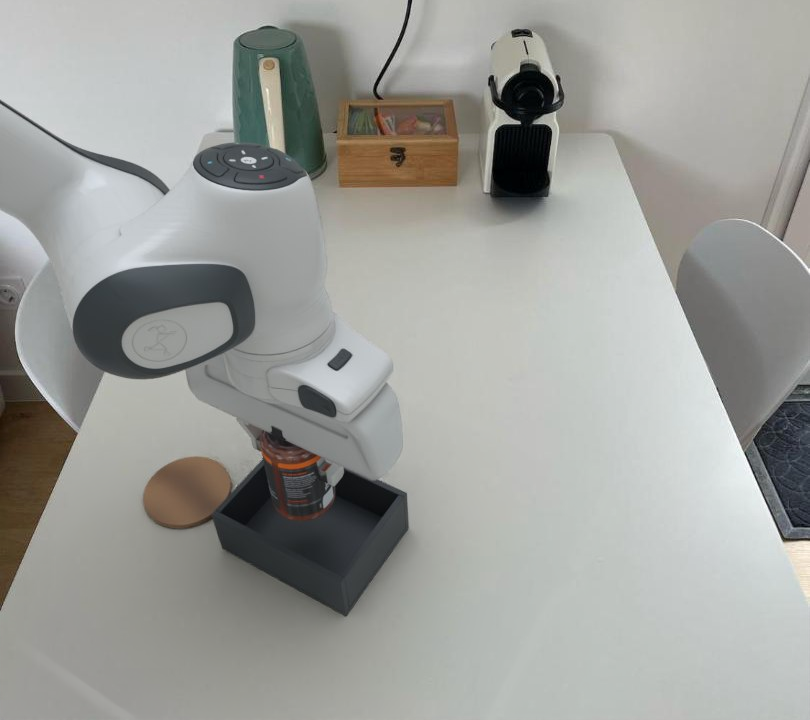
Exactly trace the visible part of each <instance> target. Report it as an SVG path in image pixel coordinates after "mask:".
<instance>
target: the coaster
mask: <svg viewBox="0 0 810 720" xmlns="http://www.w3.org/2000/svg"><path fill="white" fill-rule="evenodd" d="M232 488H233V487H232V479H231V476H230V473H229V471H228V470H227V468H226V467H225V466H224V465H223V464H222V463H221V462H219V461H217V460H215V459H213V458H210V457H205V456H186V457H182V458H179V459H176V460H173V461H171V462H169V463H168V464H165V465H164V466H162V467H161V468H159V469H158V470H157V471H156V472H155V473H154V474H153V475H152V476H151V477H150V479H149V480H148V482H147V483H146V486H145V488H144V491H143V495H142V496H143V497H142V501H143V506H144V509H145V511H146V513H147V515H148V516H149V517H150V519H151V520H152V521H153V522H156V523H157V524H158V525H160V526H163V527H166V528H171V529H187V528H193V527H196V526H199V525H201V524H204V523H206V522H207V521H209V520H211V519H212V516H211V514H212V513H213V512H214V511H215V510H216V509H217V508H218V507H219V506H220V504H221V503H222V502H223V501H224V500H225V499H226V498H227V497H228V496H229V495H230V494H231V493H232Z"/></svg>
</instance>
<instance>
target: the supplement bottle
mask: <svg viewBox="0 0 810 720" xmlns="http://www.w3.org/2000/svg"><path fill="white" fill-rule="evenodd" d="M271 428H272V432H270V433H268V432H266V431H264V430H262V432H261V436H260V446H261V451H262V452H261V451H260V452H261V455H262V459H263V461H264V466H265V471H266V475H267V480H268V484H269V489H270V494H271V498H272V502H273V505H274V507H275V509H276V510H277V511H278V512H279V513H280V514H281V515H282V516H284V517H286V518H288V519H291V520H296V521H306V520H311V519H314V518H317V517H319V516H321V515H322V514H324V513H325V512H326V511H327V510H328V509H329V508H330V507H331V505H332V503H333V502H334V499H335V486H331V485H329V484H327V483H325V482H323V481H321V480H319V474H318V470H317V469H318V467H319V466H320V465H321V464H322V463H325V459H324V458H322V457H320V456H318V455H316V454H314V453H312V452H309V451H307V450H305V449H303V448H301V447H299V446H296V445H294V444H292V443H290V442H288V441H286V439H285V438H284V437H283V434H282V430H280V429H279V428H277V427H274V426H271Z"/></svg>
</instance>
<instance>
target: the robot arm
mask: <svg viewBox="0 0 810 720" xmlns="http://www.w3.org/2000/svg"><path fill="white" fill-rule="evenodd" d="M0 211H1V212H3V213H5V214H7V215H9V216H11V217H12V218H14V219H16V220H18V221H19V222H20V223H22V224H23V225H24V226H25V227H26V228H27V229H28V230H29V231H30V232H31V234H32V235H33V236H34V238H35V239H36V240H37V241H38V243H39V245H40V246H41V248H42V249H43V251H44V253H45V254H46V256H47V258H48V259H49V261H50V264H51V267H52V269H53V271H54V275H55V278H56V282H57V286H58V288H59V292H60V297H61V301H62V303H63V308H64V310H65V315H66V317H67V320H68V324H69V326H70V329H71V332H72V335H73V339H74V342H75V345H76V347H77V349H78V351H79V352H80V353H81V355H82V356H83V357H84V358H85V359H86V361H88V362H89V363H90V364H91V365H93V367H95V368H97V369H99V370H100V371H103V372H104V373H107V374H109V375H113V376H115V377H119V378H124V379H129V380H154V379H161V378H164V377H169V376H172V375H175V374H177V373H180V372H183V371H185V377H186V382H187V386H188V388H189V390H190V392H191V393H192V394H193V396H194V397H195V398H196V399H197V400H198V401H200V402H202V403H203V404H207V405H209V406H210V407H212V408H215V409H217V410H219V411H221V412H223V413H226V414H227V415H230V416H232V417H234V418H236V421H237V423H238V424H239V425H240V427H241V428H242V429H243V430H244V431H245V433H246V434H247V436H248V437H250V441H251V444H252V448H253V449H254V450H257V451H258V452H261V453H262V451H261V446H260V436H261V432H262V430H264V431H266V432H268V433H270V432H272V428H271V426H274V427H277V428H279V429H280V430H282V434H283V437H284V438H285V439H286V441H288V442H290V443H292V444H294V445H296V446H299V447H301V448H303V449H305V450H307V451H309V452H312V453H314V454H316V455H318V456H320V457H322V458H324V459H325V463H322V464H321V465H320V466H319V467H318V469H317V470H318V474H319V480H321V481H323V482H325V483H327V484H329V485H331V486H335V485H336V484H337V483H338V482H339V480H340V479H341V478H342V476H343V474H344V468H346V469H348V470H350V471H352V472H355V473H357V474H359V475H361V476H363V477H365V478H367V479H369V480H372V481H375V480H380V479H382V478H383V477H385V476H386V475H388V473H389V472H390V471H391V469H393V468H394V466H395V464H396V463H397V462H398V460H399V459H400V457H401V455H402V453H403V450H404V430H403V420H402V419H403V418H402V413H401V407H400V402H399V400H398V396H397V395H396V393H395V391H394V388H392V386H391V385H390V384H389V383H388V381H389V379H390V378H391V376H392V374H393V373H394V361H393V358H392V357H391V356H390V354H388V352H386V351H385V350H383V349H382V348H380V347H379V346H377V345H376V344H374V343H373V342H371V341H370V340H369V339H368V338H366V337H364V336H363V335H361V333H359V332H358V331H357V330H355V329H354V328H353V327H352V326H350V325H349V324H348V323H347V322H346V320H344V319H343V318H342V317H341V316H340V315H338V313H336V312H334V308H333V302H332V299H331V296H330V294H329V292H328V291H327V288H326V278H327V274H328V270H329V269H328V268H329V262H328V261H329V259H328V252H327V251H328V250H327V243H326V236H325V230H324V224H323V219H322V214H321V209H320V204H319V200H318V197H317V193H316V189H315V187H314V184H313V182H312V179H311V177H310V175H309V173H308V172H307V170H305V169H304V168H303V166H302V165H300V163H298V161H297V160H295V159H294V158H292V156H290V155H288V154H287V153H285V152H284V151H282V150H279V149H278V148H273V147H270V146H267V145H263V144H261V143H255V142H245V141H244V142H241V141H240V142H239V141H238V142H225V143H219V144H217V145H213V146H210V147H207V148H204V149H203V150H200V151H199V152H198V153H196V155H195V156H194V157H193V158H192V159H191V162H190V164H189V166H188V168H187V169H186V171H185V173H184V174H183V175H182V177H180V179H179V180H178V181H177V182H176V183H175V184H174V185H173V186H172V187H171V189H170V188H169V187H168V186H167V184H166V183H165V182H164V181H163V180H162V179H161V178H160V177H159V176H157V175H156V174H155V173H153V172H152V171H150V170H149V169H147V168H145V167H143V166H141V165H139V164H136V163H134V162H131V161H128V160H125V159H121V158H117V157H114V156H109V155H106V154H101V153H97V152H93V151H90V150H87V149H85V148H81V147H78V146H77V145H74V144H72V143H70V142H68V141H66V140H64V139H63V138H61V137H59V136H57V135H55V133H52V132H51V131H49V130H48V129H47V128H45V127H43V126H42V125H41V124H39V123H37V122H36V121H34V120H33V119H31V118H29V116H27V115H25V114H23V113H22V112H20V111H19V110H17V109H15V108H14V107H12V106H11V105H10V104H8V103H6V102H5V101H4V100H2V99H0ZM343 467H344V468H343Z"/></svg>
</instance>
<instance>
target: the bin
mask: <svg viewBox="0 0 810 720" xmlns="http://www.w3.org/2000/svg"><path fill="white" fill-rule="evenodd" d="M343 468H344V467H343ZM408 506H409V505H408V492H406V491H404V490H402V489H400V488H397V487H395V486H392V485H391V484H388V483H386V482H384V481H382V480H380V479H378V480H375V481H372V480H369V479H367V478H365V477H363V476H361V475H359V474H357V473H355V472H352V471H350V470H348V469H346V468H344V474H343V476H342V478H341V479H340V480H339V482H338V483H337V484H336V485H335V499H334V502H333V503H332V505H331V507H330V508H329V509H328V510H327V511H326V512H325V513H324V514H322V515H321V516H319V517H317V518H314V519H311V520H306V521H296V520H291V519H288V518H286V517H284V516H282V515H281V514H280V513H279V512H278V511H277V510H276V509H275V507H274V505H273V502H272V498H271V494H270V489H269V484H268V480H267V475H266V471H265V466H264V461H263V458H262V459H261V460H260V461H259V463H257V465H256V466H255V467H254V468H253V469H252V470H251V471H250V472H249V473H248V474H247V475H246V476H245V477H244V479H243V480H242V481H241V482H240V483H239V484H238V485H237V486H236V487H235V488H234V489H233V490H232V491H231V494H230V495H229V496H228V497H227V498H226V499H225V500H224V501H223V502H222V503H221V504H220V506H219V507H218V508H217V509H216V510H215V511H214V512H213V513H212V514H211V516H212V518H211V519H212V522H213V525H214V528H215V531H216V534H217V537H218V540H219V543H220V547H221V549H222V550H224V551H225V552H227V553H229V554H231V555H233V556H235V557H236V558H238V559H240V560H242V561H244V562H245V563H247V564H249V565H251V566H252V567H254V568H255V569H258V570H260V571H262V572H263V573H265V574H268V575H269V576H271V577H273V578H274V579H276V580H278V581H280V582H281V583H282V582H283V583H284V584H286V585H287V586H289V587H291V588H293V589H295V590H297V591H298V592H300V593H302V594H304V595H306V596H308V597H309V598H311V599H313V600H315V601H317V602H318V603H320V604H322V605H324V606H326V607H328V608H329V609H331V610H333V611H335V612H337V613H339V614H340V615H343V616H344V617H347V616H348V615H349V613H350V612H351V610H352V609H353V608H354V606H355V604H356V603H357V602H358V600H359V599H360V597H362V595H363V593H364V592H365V590H366V589H367V588H368V586H369V585H370V583H371V582H372V581H373V580H374V578H375V577H376V575H377V574H378V572H379V571H380V570H381V568H382V566H383V565H384V564H385V563H386V561H387V559H388V558H389V557H390V556H391V554H392V553H393V551H394V550H395V548H396V547H397V545H398V544H399V542H400V541H401V540H402V538H403V537H404V535H405V534H406V533H407V531H408V530H409V528H410V527H409V525H410V524H409V507H408Z"/></svg>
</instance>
